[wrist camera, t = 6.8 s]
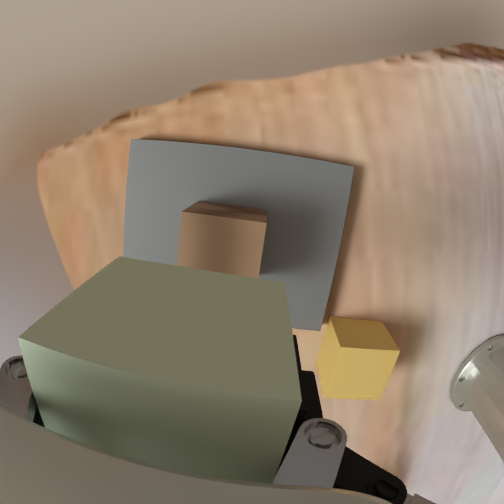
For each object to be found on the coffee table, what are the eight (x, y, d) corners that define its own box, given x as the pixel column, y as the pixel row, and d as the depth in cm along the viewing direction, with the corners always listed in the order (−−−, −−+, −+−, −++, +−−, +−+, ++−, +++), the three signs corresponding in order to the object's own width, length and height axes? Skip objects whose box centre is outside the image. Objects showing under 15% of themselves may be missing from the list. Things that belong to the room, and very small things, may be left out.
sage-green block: (284, 282, 11) (301, 400, 5) (258, 408, 13) (253, 527, 7) (119, 256, 11) (17, 337, 5) (124, 383, 13) (70, 484, 7)
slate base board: (350, 166, 28) (354, 166, 27) (318, 323, 33) (320, 331, 31) (137, 139, 28) (131, 139, 27) (129, 295, 33) (123, 300, 31)
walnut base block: (266, 209, 28) (266, 223, 22) (257, 274, 30) (254, 302, 24) (198, 200, 28) (181, 211, 22) (192, 265, 30) (175, 290, 24)
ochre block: (381, 321, 32) (400, 350, 27) (366, 366, 34) (379, 399, 28) (329, 316, 32) (340, 346, 27) (316, 363, 34) (323, 397, 28)
